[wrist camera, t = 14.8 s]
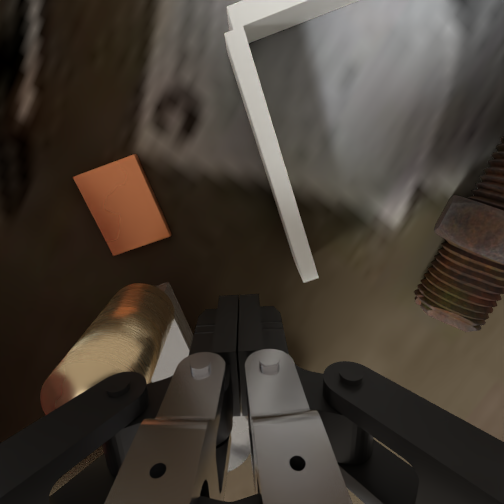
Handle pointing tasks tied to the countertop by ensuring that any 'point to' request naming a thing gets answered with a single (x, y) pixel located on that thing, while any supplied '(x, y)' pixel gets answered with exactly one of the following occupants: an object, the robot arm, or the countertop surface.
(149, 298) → the crank
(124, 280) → the countertop surface
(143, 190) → the small flat pieces
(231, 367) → the robot arm
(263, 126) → the corral
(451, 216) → the bolt
